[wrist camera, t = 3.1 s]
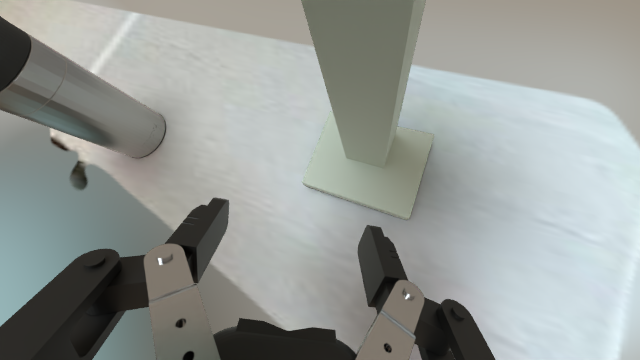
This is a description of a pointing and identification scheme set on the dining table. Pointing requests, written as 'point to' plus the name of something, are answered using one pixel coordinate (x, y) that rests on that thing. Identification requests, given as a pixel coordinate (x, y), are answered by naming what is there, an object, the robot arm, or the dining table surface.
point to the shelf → (367, 103)
